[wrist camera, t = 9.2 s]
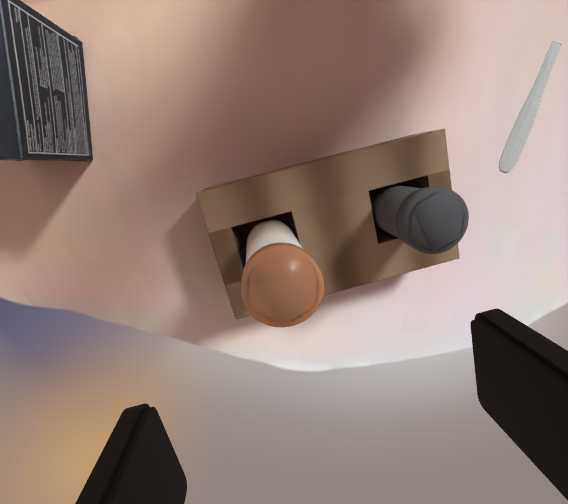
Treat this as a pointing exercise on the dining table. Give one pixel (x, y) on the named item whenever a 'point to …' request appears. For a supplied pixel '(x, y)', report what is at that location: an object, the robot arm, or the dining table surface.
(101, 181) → the dining table surface
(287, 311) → the orange-brown and white plug
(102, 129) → the dining table surface
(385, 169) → the block
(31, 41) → the small box
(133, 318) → the dining table surface
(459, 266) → the dining table surface
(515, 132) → the butter knife
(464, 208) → the black plug
